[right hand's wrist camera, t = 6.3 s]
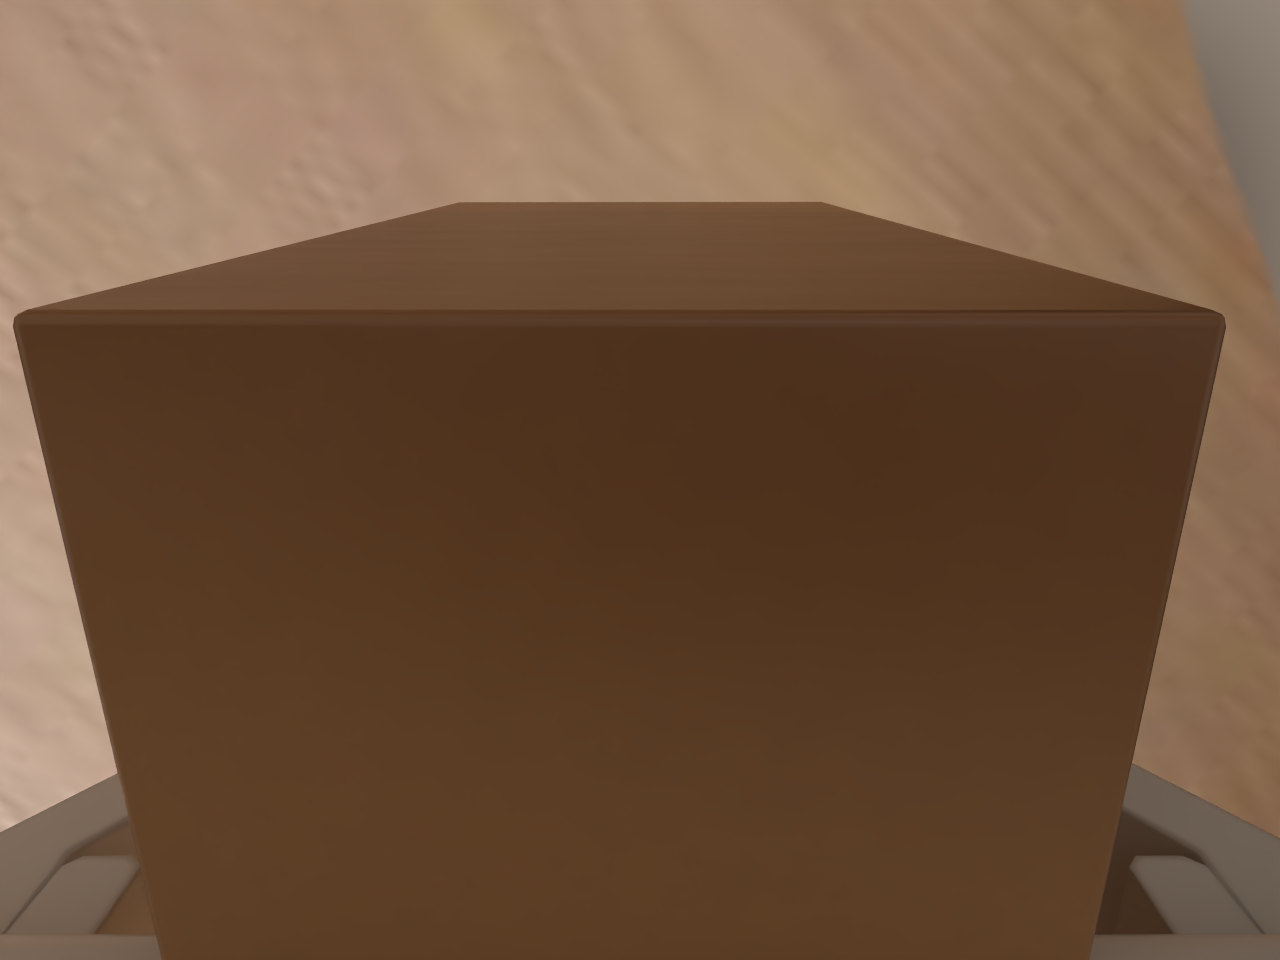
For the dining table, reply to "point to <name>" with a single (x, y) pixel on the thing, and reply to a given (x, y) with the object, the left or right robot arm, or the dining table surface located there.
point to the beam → (622, 582)
